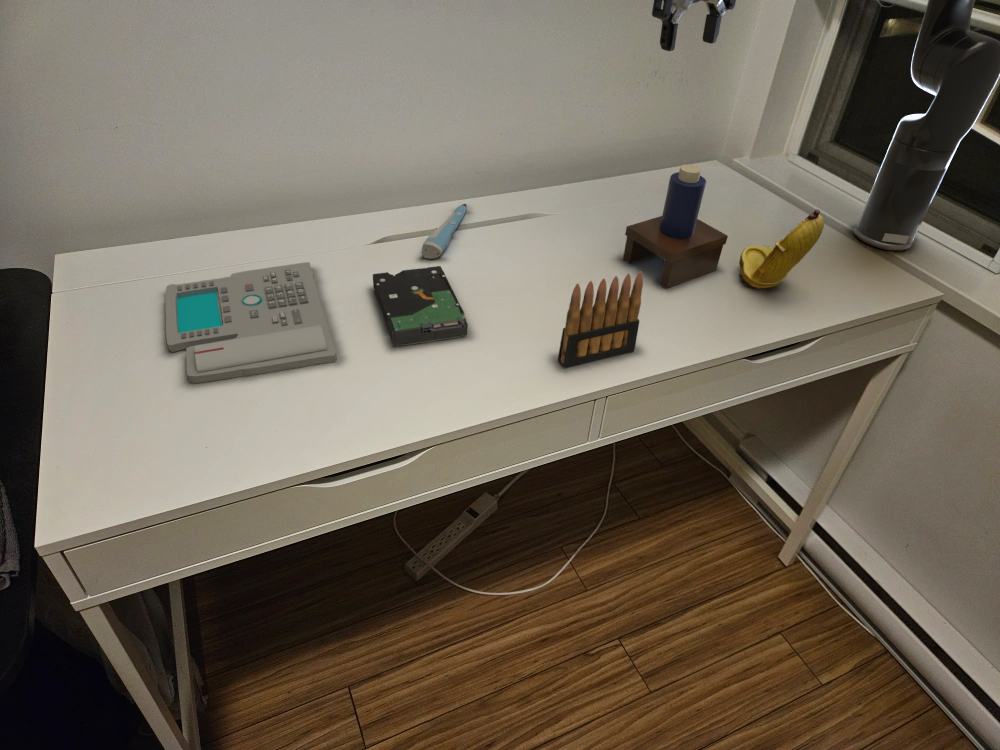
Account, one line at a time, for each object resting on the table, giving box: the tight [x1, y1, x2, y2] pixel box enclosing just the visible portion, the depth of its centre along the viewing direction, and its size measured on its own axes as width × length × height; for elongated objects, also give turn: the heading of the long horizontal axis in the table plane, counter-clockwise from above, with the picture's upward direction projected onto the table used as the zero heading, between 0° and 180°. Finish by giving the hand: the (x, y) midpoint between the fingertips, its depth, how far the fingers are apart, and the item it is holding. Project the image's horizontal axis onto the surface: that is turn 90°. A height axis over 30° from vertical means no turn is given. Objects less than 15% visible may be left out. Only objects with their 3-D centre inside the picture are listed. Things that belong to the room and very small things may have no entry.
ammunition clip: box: [557, 270, 644, 369], centre depth 88 cm, size 11×2×12 cm, turn 113°
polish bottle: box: [660, 164, 707, 239], centre depth 104 cm, size 5×5×10 cm
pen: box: [420, 203, 468, 260], centre depth 115 cm, size 19×3×3 cm, turn 166°
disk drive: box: [372, 265, 469, 347], centre depth 96 cm, size 10×3×15 cm
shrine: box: [738, 209, 825, 291], centre depth 103 cm, size 12×8×15 cm
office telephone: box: [165, 261, 338, 384], centre depth 92 cm, size 23×3×20 cm
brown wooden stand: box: [622, 215, 729, 289], centre depth 109 cm, size 12×10×6 cm
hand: (688, 46), depth 104 cm, fingers open, 8 cm apart
